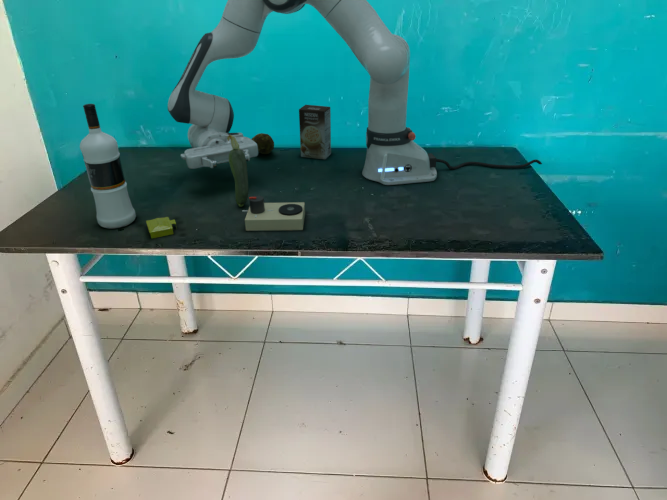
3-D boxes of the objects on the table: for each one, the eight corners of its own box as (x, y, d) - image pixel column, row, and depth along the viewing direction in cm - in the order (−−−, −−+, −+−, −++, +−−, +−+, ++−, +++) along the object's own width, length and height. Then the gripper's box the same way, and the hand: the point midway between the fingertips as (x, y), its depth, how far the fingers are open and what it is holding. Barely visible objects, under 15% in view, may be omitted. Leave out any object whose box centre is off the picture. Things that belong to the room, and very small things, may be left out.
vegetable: (252, 204, 142) (245, 131, 132) (249, 210, 138) (240, 137, 129) (237, 203, 143) (228, 131, 133) (232, 210, 139) (223, 137, 129)
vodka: (131, 228, 130) (103, 108, 116) (93, 231, 130) (60, 110, 115) (140, 213, 138) (114, 98, 124) (104, 215, 138) (74, 100, 123)
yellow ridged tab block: (140, 225, 132) (138, 215, 130) (177, 218, 135) (175, 208, 134) (145, 242, 124) (143, 231, 122) (184, 234, 127) (182, 224, 126)
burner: (303, 205, 133) (303, 203, 133) (301, 215, 128) (301, 213, 128) (279, 205, 134) (279, 203, 133) (277, 215, 128) (277, 213, 128)
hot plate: (305, 212, 137) (304, 201, 135) (302, 230, 128) (302, 218, 126) (246, 213, 137) (245, 202, 135) (240, 230, 128) (238, 219, 127)
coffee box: (299, 157, 175) (297, 109, 167) (306, 151, 180) (304, 104, 172) (325, 159, 172) (324, 110, 164) (332, 153, 177) (331, 106, 169)
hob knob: (265, 207, 133) (264, 194, 131) (263, 213, 129) (262, 200, 128) (251, 207, 133) (250, 194, 131) (249, 214, 129) (247, 200, 128)
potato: (277, 148, 184) (275, 125, 180) (274, 160, 172) (272, 136, 168) (253, 148, 183) (251, 126, 180) (249, 161, 172) (246, 137, 168)
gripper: (176, 143, 145) (190, 157, 134) (246, 131, 153) (264, 143, 143) (180, 165, 148) (194, 180, 137) (248, 152, 156) (266, 165, 146)
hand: (230, 161), depth 140 cm, fingers open, 8 cm apart
